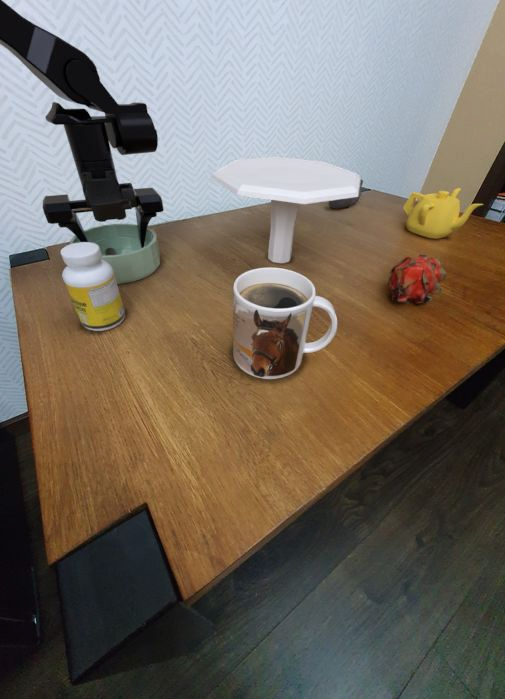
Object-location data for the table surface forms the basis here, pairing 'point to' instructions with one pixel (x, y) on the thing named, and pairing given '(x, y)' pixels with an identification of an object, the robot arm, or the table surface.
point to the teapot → (435, 213)
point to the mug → (275, 321)
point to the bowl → (125, 250)
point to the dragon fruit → (416, 279)
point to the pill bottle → (92, 286)
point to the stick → (110, 251)
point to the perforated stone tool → (345, 200)
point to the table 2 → (287, 191)
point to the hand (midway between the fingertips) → (118, 251)
